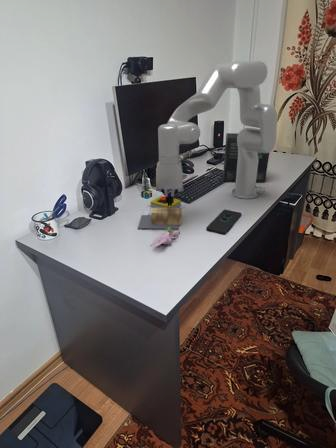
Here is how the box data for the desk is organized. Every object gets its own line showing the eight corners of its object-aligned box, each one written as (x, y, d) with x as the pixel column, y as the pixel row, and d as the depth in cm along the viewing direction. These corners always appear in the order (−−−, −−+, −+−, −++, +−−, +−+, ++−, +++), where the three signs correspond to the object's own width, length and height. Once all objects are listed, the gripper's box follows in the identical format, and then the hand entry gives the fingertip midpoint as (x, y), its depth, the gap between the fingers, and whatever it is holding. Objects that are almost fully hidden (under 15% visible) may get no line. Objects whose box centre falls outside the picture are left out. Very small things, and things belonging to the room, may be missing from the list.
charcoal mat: (179, 216, 131) (179, 215, 131) (178, 230, 121) (178, 228, 120) (141, 216, 132) (141, 214, 132) (137, 229, 122) (137, 228, 121)
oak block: (181, 208, 126) (152, 207, 126) (181, 213, 121) (151, 212, 122) (181, 219, 128) (152, 218, 129) (181, 224, 123) (151, 224, 124)
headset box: (262, 176, 177) (268, 129, 165) (266, 183, 166) (272, 134, 154) (222, 175, 179) (225, 129, 167) (223, 182, 168) (227, 134, 157)
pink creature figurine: (169, 235, 120) (147, 247, 108) (170, 221, 118) (148, 231, 106) (183, 239, 117) (162, 252, 105) (185, 224, 115) (163, 236, 103)
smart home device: (242, 212, 131) (225, 232, 116) (242, 216, 132) (225, 236, 116) (224, 208, 135) (205, 227, 119) (223, 212, 135) (205, 231, 120)
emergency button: (158, 192, 147) (185, 198, 139) (159, 200, 149) (185, 207, 141) (146, 198, 140) (174, 205, 132) (147, 207, 142) (174, 214, 134)
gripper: (189, 156, 117) (188, 201, 125) (150, 156, 118) (152, 201, 126) (189, 162, 110) (188, 208, 119) (147, 162, 111) (150, 208, 120)
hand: (169, 204), depth 123 cm, fingers closed
